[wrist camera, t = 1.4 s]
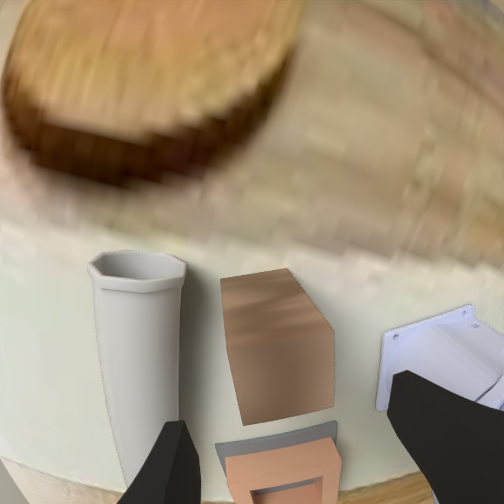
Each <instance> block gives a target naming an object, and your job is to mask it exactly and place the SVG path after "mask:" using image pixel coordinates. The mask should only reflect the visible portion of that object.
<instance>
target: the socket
mask: <svg viewBox="0 0 504 504" xmlns="http://www.w3.org/2000/svg"><path fill="white" fill-rule="evenodd" d="M336 433H337V423H336V421H333V422H329V423H325V424H321V425H317V426H313V427H309V428H305V429H301V430H296V431H292V432H287V433H282V434H277V435H272V436H267V437H261V438H255V439H249V440H243V441H236V442H229V443H221V444H215V448H216V451H217V454H218V457H219V459H220V462H221V465H222V468H223V470H224V473H225V476H226V478H227V485H228V487H229V490H230V492H231V495H232V497H233V500H234V502H235V504H336V503H337V497H338V489H339V482H340V473H341V465H342V460H341V458H340V456H339V453H338V451H337V449H336Z"/></svg>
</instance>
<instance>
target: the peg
mask: <svg viewBox="0 0 504 504" xmlns="http://www.w3.org/2000/svg"><path fill="white" fill-rule="evenodd" d="M220 280H221V293H222V305H223V316H224V327H225V338H226V348H227V355H228V359H229V364H230V369H231V374H232V378H233V383H234V388H235V392H236V397H237V401H238V406H239V410H240V414H241V419H242V423H243V426H246V425H252V424H258V423H263V422H269V421H274V420H279V419H284V418H289V417H293V416H298V415H302V414H307V413H311V412H315V411H319V410H323V409H327V408H331V407H334V330H333V328H332V327H331V326H330V324H329V323H328V322H327V320H326V319H325V318H324V316H323V315H322V314H321V312H320V311H319V310H318V308H317V307H316V306H315V304H314V303H313V302H312V300H311V299H310V298H309V296H308V295H307V294H306V292H305V291H304V290H303V288H302V287H301V286H300V284H299V283H298V282H297V281H296V279H295V278H294V277H293V275H292V274H291V273H290V271H289V270H288V269H287V268H284V269H278V270H272V271H266V272H260V273H254V274H248V275H242V276H235V277H229V278H223V279H220Z"/></svg>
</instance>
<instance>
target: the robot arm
mask: <svg viewBox="0 0 504 504" xmlns="http://www.w3.org/2000/svg"><path fill="white" fill-rule="evenodd" d="M474 313H475V306H474V305H472V304H468V305H466V306H463V307H460V308H458V309H455V310H452V311H449V312H446V313H444V314H441V315H438V316H435V317H432V318H429V319H426V320H423V321H420V322H416V323H413V324H410V325H407V326H404V327H400V328H397V329H394V330H390V331H387V332H386V333H385V334H384V335H383V337H382V349H381V361H380V371H379V381H378V389H377V397H376V405H375V408H376V410H377V411H379V412H380V411H383V410H386V409H388V410H387V416H388V418H389V420H390V422H391V424H392V427H393V429H394V431H395V432H396V434H397V436H398V438H399V439H400V441H401V442H402V444H403V445H404V447H405V448H406V450H407V451H408V452H409V454H410V455H411V457H412V458H413V460H414V461H415V463H416V464H417V465H418V467H419V468H420V470H421V471H422V473H423V474H424V476H425V477H426V479H427V480H428V482H429V484H430V486H431V488H432V494H433V501H434V504H504V335H503V334H501V333H500V332H498V331H497V330H495V329H494V328H492V327H491V326H489V325H488V324H486V323H485V322H483V321H482V320H480V319H479V318H477V317H475V316H474ZM394 335H396V336H395V337H394ZM393 337H394V338H393ZM200 501H201V476H200V465H199V456H198V454H197V451H196V449H195V447H194V444H193V442H192V439H191V437H190V434H189V432H188V429H187V427H186V424H185V422H184V420H180V421H168V422H165V424H164V425H163V427H162V429H161V431H160V434H159V436H158V438H157V440H156V442H155V444H154V446H153V447H152V449H151V451H150V453H149V455H148V457H147V458H146V460H145V462H144V464H143V465H142V467H141V469H140V471H139V472H138V474H137V475H136V477H135V478H134V480H133V481H132V483H131V484H130V486H129V487H128V489H127V490H126V492H125V493H124V495H123V496H122V497H121V499H120V500H119V501H118V502H117V504H200Z"/></svg>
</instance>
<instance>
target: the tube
mask: <svg viewBox="0 0 504 504" xmlns="http://www.w3.org/2000/svg"><path fill="white" fill-rule="evenodd" d="M87 268H88V274H89V275H90V277H91V278H92V284H93V302H94V316H95V327H96V337H97V346H98V354H99V362H100V369H101V376H102V382H103V388H104V394H105V400H106V405H107V410H108V415H109V420H110V425H111V429H112V434H113V438H114V442H115V446H116V450H117V454H118V458H119V462H120V465H121V469H122V473H123V476H124V479H125V483H126V486H127V489H128V487H129V486H130V484H131V483H132V481H133V480H134V478H135V477H136V475H137V474H138V472H139V471H140V469H141V467H142V465H143V464H144V462H145V460H146V458H147V457H148V455H149V453H150V451H151V449H152V447H153V446H154V444H155V442H156V440H157V438H158V436H159V434H160V431H161V429H162V427H163V425H164V424H165V422H168V421H179V335H180V307H181V287H183V285H184V281H185V276H186V272H187V263H186V262H184V261H182V260H180V259H178V258H176V257H174V256H172V255H171V254H166V253H155V252H144V251H134V250H124V251H113V252H102V253H100V254H99V255H98V256H96V257H95V258H94V259H93V260H92V261H90V262H89V263H88V264H87Z"/></svg>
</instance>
